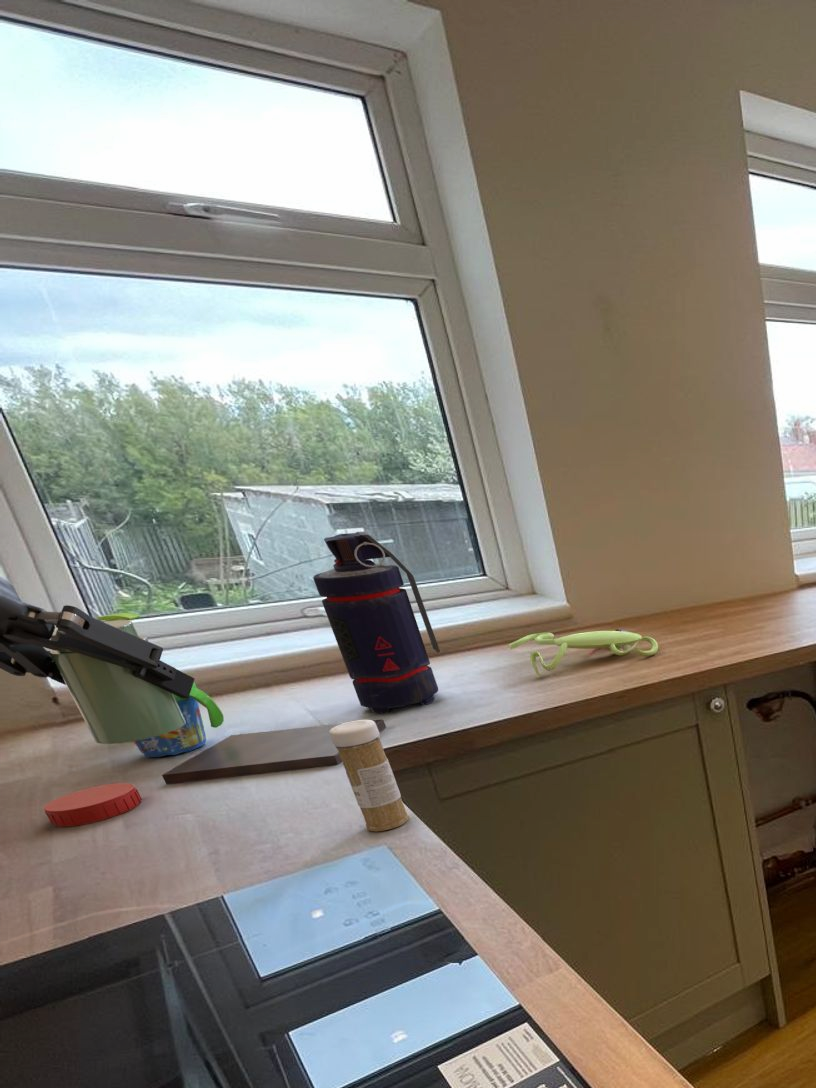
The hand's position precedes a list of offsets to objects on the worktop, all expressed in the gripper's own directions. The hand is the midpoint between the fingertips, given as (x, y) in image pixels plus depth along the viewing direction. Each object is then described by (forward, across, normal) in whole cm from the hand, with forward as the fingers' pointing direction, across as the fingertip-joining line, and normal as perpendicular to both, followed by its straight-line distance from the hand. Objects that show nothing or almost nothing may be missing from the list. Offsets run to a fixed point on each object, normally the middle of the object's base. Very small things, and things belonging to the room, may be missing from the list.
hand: (150, 690), depth 100 cm
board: (+27, -5, +3) cm, 28 cm away
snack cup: (+31, -25, +6) cm, 41 cm away
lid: (+13, -17, -8) cm, 23 cm away
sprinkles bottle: (+7, +27, -17) cm, 33 cm away
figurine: (+60, +24, +35) cm, 73 cm away
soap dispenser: (+40, -36, +14) cm, 55 cm away
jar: (+1, 0, -5) cm, 5 cm away
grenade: (+44, 0, +19) cm, 48 cm away
